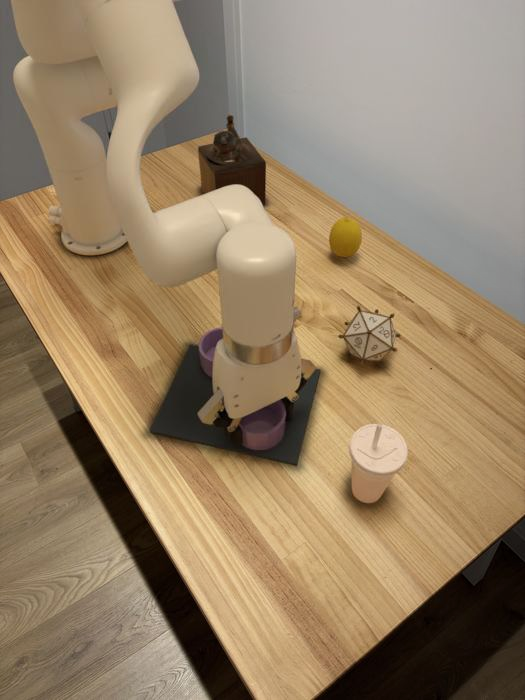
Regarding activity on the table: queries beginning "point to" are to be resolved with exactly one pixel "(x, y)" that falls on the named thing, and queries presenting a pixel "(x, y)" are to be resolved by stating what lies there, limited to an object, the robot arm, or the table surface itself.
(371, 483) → the smoothie
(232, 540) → the table surface
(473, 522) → the table surface
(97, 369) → the table surface
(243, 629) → the table surface
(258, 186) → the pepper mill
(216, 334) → the dish
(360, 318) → the game die
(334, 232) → the lemon
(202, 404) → the mat
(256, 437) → the dish
